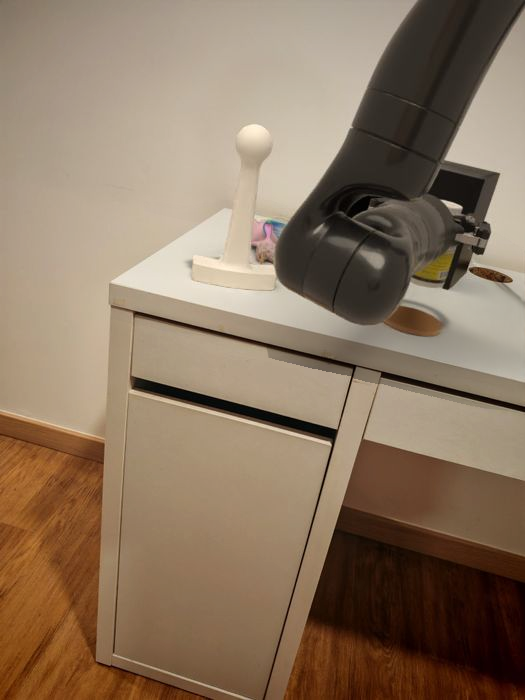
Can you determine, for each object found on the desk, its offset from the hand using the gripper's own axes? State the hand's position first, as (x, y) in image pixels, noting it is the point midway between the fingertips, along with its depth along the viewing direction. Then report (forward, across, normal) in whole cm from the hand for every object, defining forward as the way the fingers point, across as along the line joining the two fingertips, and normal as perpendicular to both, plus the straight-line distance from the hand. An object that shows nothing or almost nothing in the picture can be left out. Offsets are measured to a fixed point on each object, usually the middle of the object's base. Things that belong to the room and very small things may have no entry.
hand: (446, 215), depth 72 cm
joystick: (-9, +23, +14) cm, 29 cm away
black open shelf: (+22, +10, +14) cm, 28 cm away
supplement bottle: (-3, 0, +8) cm, 9 cm away
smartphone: (+16, +31, +14) cm, 38 cm away
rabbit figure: (+6, +27, +14) cm, 31 cm away
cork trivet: (-2, 0, +14) cm, 14 cm away
